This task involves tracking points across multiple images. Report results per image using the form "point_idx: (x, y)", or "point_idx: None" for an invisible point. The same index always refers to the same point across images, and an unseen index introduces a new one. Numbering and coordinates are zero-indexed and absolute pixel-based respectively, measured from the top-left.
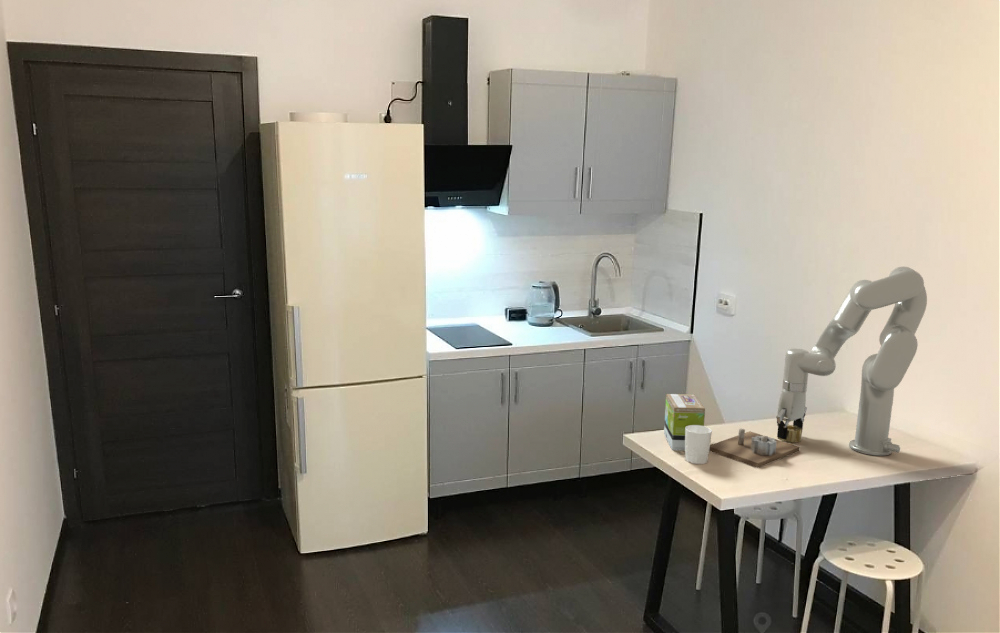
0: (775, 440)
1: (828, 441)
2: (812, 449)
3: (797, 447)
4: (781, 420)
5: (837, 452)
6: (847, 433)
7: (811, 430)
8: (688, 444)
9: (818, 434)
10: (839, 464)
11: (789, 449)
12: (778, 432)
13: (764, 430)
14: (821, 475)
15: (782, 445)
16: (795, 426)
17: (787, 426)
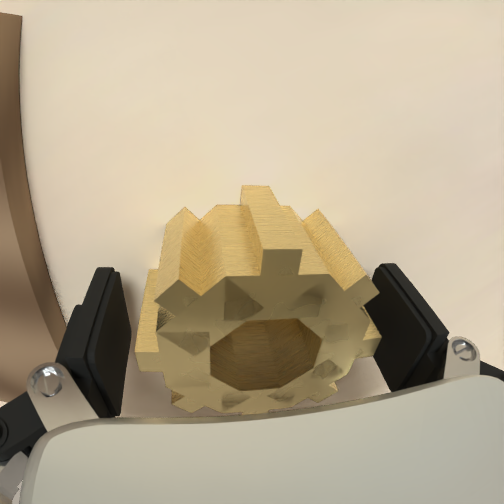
0: (14, 305)
1: (376, 386)
2: (187, 412)
3: None
4: (7, 477)
5: None
6: (499, 350)
7: (501, 264)
8: None
9: (458, 315)
10: None
11: (11, 398)
12: (88, 305)
13: (309, 4)
14: None
15: (6, 364)
16: (346, 357)
17: (298, 317)
